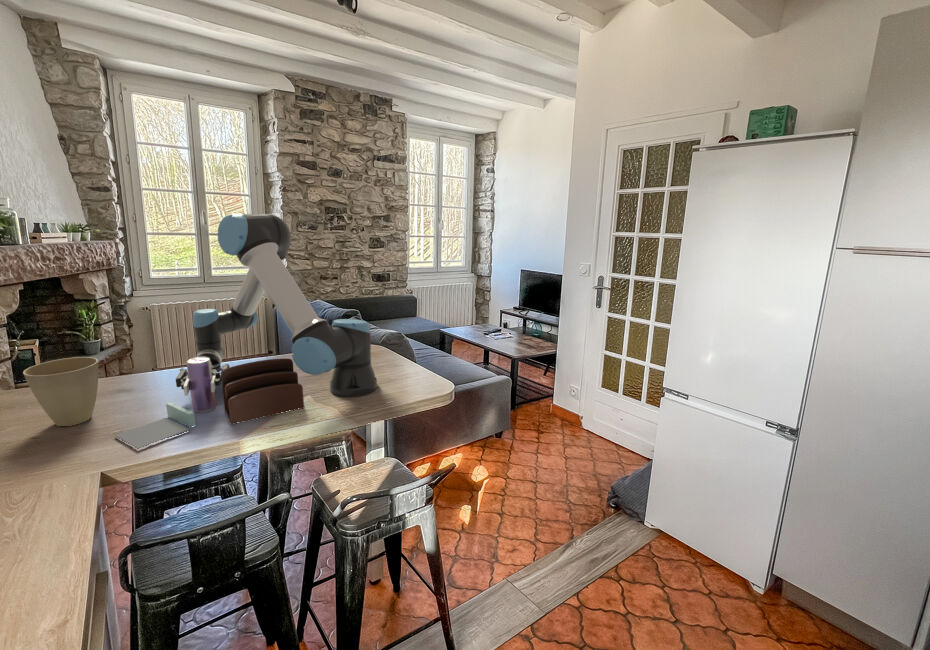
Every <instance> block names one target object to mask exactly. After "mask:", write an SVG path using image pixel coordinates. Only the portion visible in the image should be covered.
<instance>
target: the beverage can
mask: <svg viewBox="0 0 930 650" xmlns="http://www.w3.org/2000/svg"><path fill="white" fill-rule="evenodd" d="M186 369H187V370H188V377H189V385H190V391H189V393H190V399H191V408H192V410H193V412H196V413H207V412H209V411H212V410H214V409H215V408H216V405H217V402H216V393H215V392H216V391H215V392H211V384H210V383H211V380H212V378H213V375H212V366H211V361H210V358H208V357H196V356H195V357H193V358H190V359H188V360H187V361H186Z"/></svg>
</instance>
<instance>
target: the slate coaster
mask: <svg viewBox="0 0 930 650" xmlns="http://www.w3.org/2000/svg"><path fill="white" fill-rule="evenodd" d="M187 431H190V429H189V427H188V428H187V427H186V426H184V425H183V424H181V423H177V421H176V422H175V420H173V419H170V418H167V417H165V418H161V419H158V420H155V421H152V422H149V423H145V424H143V425H140V426H138V427H135V428H134V427H133V428H131V429H129V430H126V431H125V430H124V431H123V432H120V433H117V434H114V437H115V436H116V437H117V438H119V439H121V440H122V441H124V442H126V443H128V444H130V445H132V446H134V447H135V448H137V449H139V448H141V447H144V446H147V445H149V444H151V443H154V442H157V441H159V440H163V439H165V438H169V437H172V436H175V435H179V434H182V433H184V432H187Z"/></svg>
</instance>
